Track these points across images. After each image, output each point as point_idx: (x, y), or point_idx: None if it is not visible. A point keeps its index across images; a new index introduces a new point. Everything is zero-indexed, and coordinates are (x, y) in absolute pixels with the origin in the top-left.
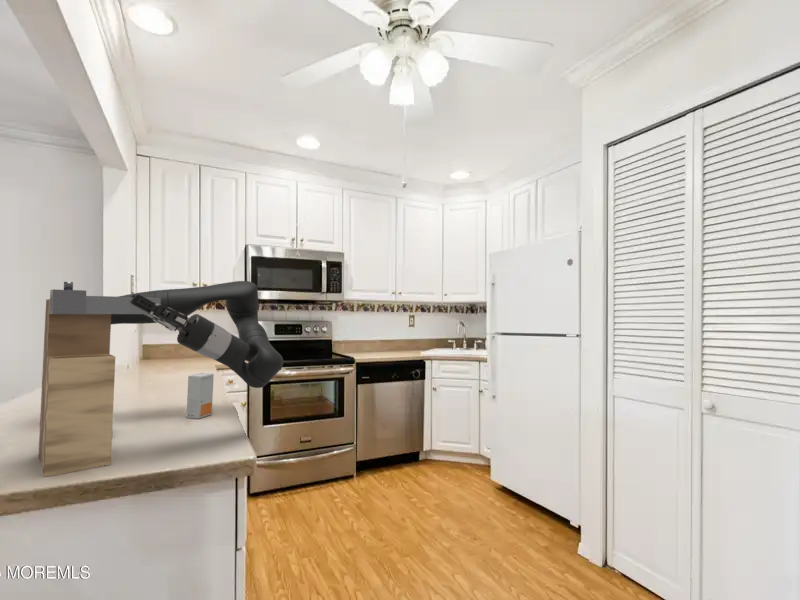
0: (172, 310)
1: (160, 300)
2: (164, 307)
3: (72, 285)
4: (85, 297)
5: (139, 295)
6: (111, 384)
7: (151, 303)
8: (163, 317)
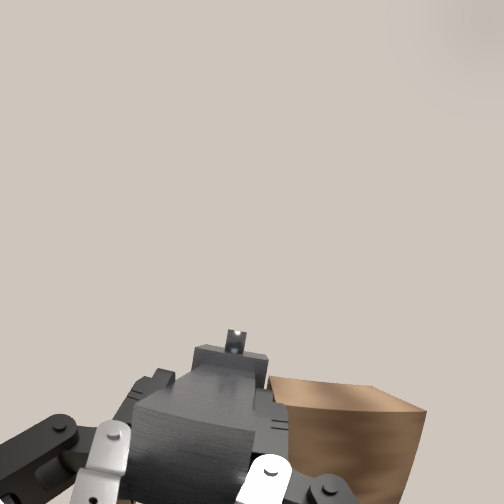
0: (9, 444)
1: (132, 422)
2: (43, 426)
3: (229, 338)
4: (192, 365)
5: (156, 372)
6: None
7: (115, 414)
8: (41, 468)
